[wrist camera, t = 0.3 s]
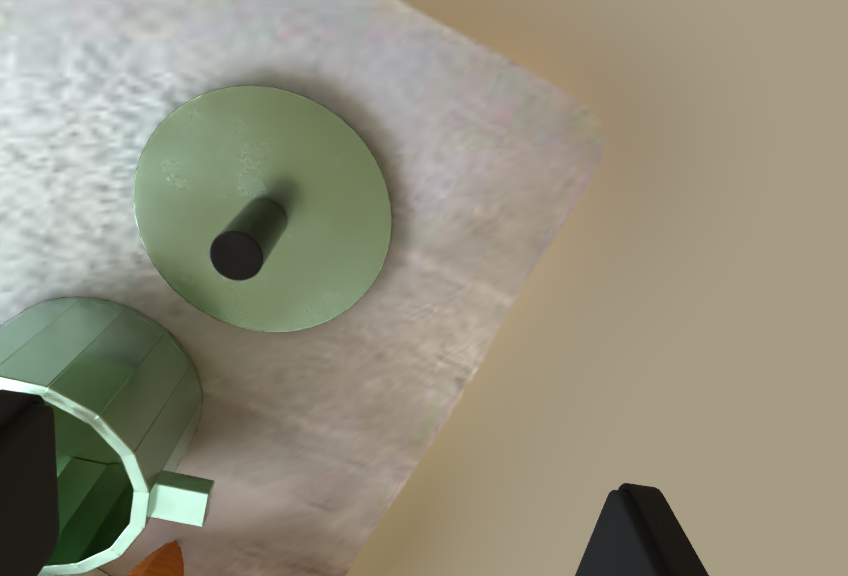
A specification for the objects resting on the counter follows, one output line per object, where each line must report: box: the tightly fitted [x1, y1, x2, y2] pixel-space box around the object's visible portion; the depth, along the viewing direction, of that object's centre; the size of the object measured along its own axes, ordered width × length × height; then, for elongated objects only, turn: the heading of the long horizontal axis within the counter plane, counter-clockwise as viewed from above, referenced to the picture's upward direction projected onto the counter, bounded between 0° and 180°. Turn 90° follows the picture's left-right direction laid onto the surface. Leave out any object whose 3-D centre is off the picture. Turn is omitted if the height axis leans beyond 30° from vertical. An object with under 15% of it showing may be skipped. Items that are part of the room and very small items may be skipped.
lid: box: [133, 85, 392, 332], centre depth 29 cm, size 14×14×7 cm
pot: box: [0, 297, 214, 576], centre depth 32 cm, size 13×18×8 cm
